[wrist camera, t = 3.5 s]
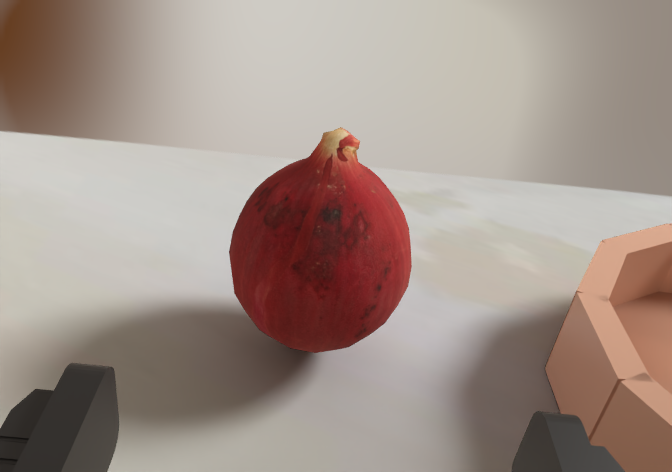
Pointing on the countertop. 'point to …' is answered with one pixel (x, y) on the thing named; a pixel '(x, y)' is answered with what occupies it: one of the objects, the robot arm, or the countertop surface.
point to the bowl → (621, 351)
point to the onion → (321, 250)
